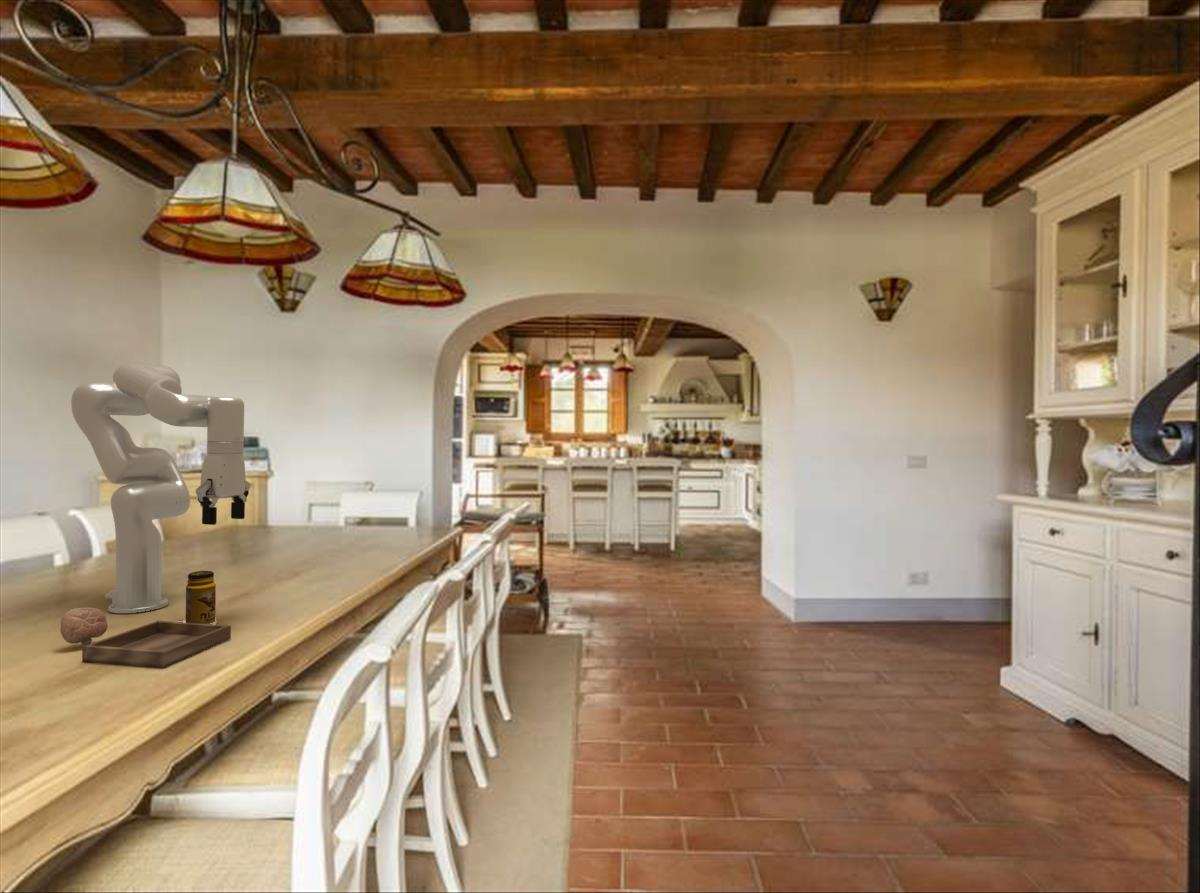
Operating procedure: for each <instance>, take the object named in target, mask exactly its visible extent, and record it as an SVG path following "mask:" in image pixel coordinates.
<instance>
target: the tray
mask: <svg viewBox="0 0 1200 893" xmlns="http://www.w3.org/2000/svg"><path fill="white" fill-rule="evenodd" d="M231 630H232V626H231V625H226V624H225V625H224V624H217V625H213V624H198V623H183V622H175V621H169V620H165V621H164V620H156V621H153V622H150V623H147V624H144V625H141V626H138V627H136V628H132V629H130V630H126V631H123V632H121V633H118V634H114V635H112V636H109V637H105V638H103V639H100V640H98V641H94V642H91V643H90V644H88V645H85V646H84V645H82V647H81V649H82V650H81V651H82V653H81V654H82V655H81V657H82V659H81V660H82V661H81V662H82V663H92V664H93V663H94V664H104V665H105V664H107V665H116V666H117V665H119V666H129V665H130V666H129V667H132V666H133V667H142V668H145V667H146V668H154V669H155V668H157V669H158V668H159V669H166V668H168V667H171V666H172V664H173V665H175V664H177V663H180V662H182V661H184V660H187V659H188V657H189V658H192V657H194V656H196V655H199V654H200V653H202V651H203V652H205V651H207V650H210V649H211V647H212V648H213V646H214V647H217V646H218V645H217V644H219V645H221V644H223V643H225V641H226V642H228V641H230V640H231V638H232V631H231ZM229 639H230V640H229ZM227 640H228V641H227ZM222 642H223V643H222ZM220 643H221V644H220ZM216 645H217V646H216ZM209 648H210V649H209ZM204 650H205V651H204ZM195 654H196V655H195ZM193 655H194V656H193ZM186 658H187V659H186ZM181 660H182V661H181ZM179 661H180V662H179ZM170 665H171V666H170Z"/></svg>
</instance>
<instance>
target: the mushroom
mask: <svg viewBox="0 0 1200 893" xmlns="http://www.w3.org/2000/svg"><path fill="white" fill-rule="evenodd" d="M106 618H107V617H106V615H105V613H104V612H103V611H102V610H101V609H99V608H97V607H87V606H86V607H76V608H72V609H70V610H68V611H67V612H65V613H64V614H63V616H62V617H61V620H60V629H59V631H60V634H61V636H62V638H63V640H64V641H65V642H67V643H69V644H70V645H71V644H79V643H81V645H82V646H85V645H88V644H91V643H93V638H94V639H95V638H100V637H102V636H103V635H105V633H106V632H107V630H108V620H107V619H106Z"/></svg>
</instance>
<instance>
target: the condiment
mask: <svg viewBox="0 0 1200 893" xmlns="http://www.w3.org/2000/svg"><path fill="white" fill-rule="evenodd" d="M214 573H215V572H214V571H211V570H199V571H198V570H197V571H192V572H190V573H188V575H187V584H186V586H185V620H186V623H198V624H210V623H213V622H215V617H216V618H217V616H216V609H217V608H216V607H217V606H216V597H217V596H216V594H217V593H216V590H217V589H216V588H217V587H216V586H217V585H216V582H214V581H215V578H214V575H215V574H214ZM181 620H182V619H181ZM181 620H180V619H179V620H177V621H181ZM183 620H184V619H183ZM183 620H182V621H183Z"/></svg>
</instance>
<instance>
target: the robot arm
mask: <svg viewBox="0 0 1200 893" xmlns="http://www.w3.org/2000/svg"><path fill="white" fill-rule="evenodd" d="M179 375H180V374H178V372H176V370H175V369H173V368H171V367H170V366H167V365H160V364H159V365H157V364H152V363H151V364H150V363H149V364H148V363H140V362H129V363H128V362H127V363H125V364H121V365H120V366H118V367H117V368H116V369H115V370H114V372H113V373H112V380H113V382H109V381H93V382H92V381H91V382H90V381H89V382H86V383H82V384H80V385H79V386H77V387H76V388H75V389H74V391H73V392H72V395H71V399H70V400H71V401H70V402H71V403H70V404H71V405H70V406H71V412H72V416H73V419H74V421H75V423H76V425H77V426H78V427H79V429H80V430H81V432H82V433H83V435H84V437H86V438H87V440H88V442H89V444H90V445H91V447H92V451H93V453H94V455H95V456H96V459H97V461H98V463H99V466H100V468H101V470H102V473H103V474H104V476H105V478H106V479H107V481H109V483H111V484H114V485H120V487H118V488H116V489H115V490H114V492H113V493H112V495H111V498H110V508H111V509H110V510H111V513H112V517H113V522H114V531H115V532H114V533H115V589H114V588H113V589H110V590H108V591H107V592H106V593H105V594H104V599H107V600H108V599H109V600H110V599H111V603H110V604H109V605H108V606H107V611H108V612H109V613H111V614H112V613H113V614H136V613H137V612H138V613H145V611H146V612H149V611H150V610H151V611H155V609H156V610H158V609H162V608H165V607H167V606H168V605H169V598H167V597H162V536H161V532H160V531H159V528H157V526H156V525H155V524H154V522H153V520H158V519H167V518H175V517H179V516H182V515H184V514H186V513H187V511H189V508H190V506H191V495H190V491H189V488H188V486H187V483H186V482H185V480H184V478H183V476H182V474H181V472H180V469H179V467H178V465H177V463H176V461H175V459H174V458H173V456H172V455H171V453H169V452H168V451H167V450H165V449H163V448H159V447H142V446H141V447H139V446H137V445H136V444H135V443H134V441H133V439H132V437H131V434H130V432H129V431H128V430H127V429H126V428H125V426H123V424H121V423H120V422H119V421H117V420H116V419H114V418H113V417H111V416H127V417H128V416H131V417H132V416H133V417H135V416H136V417H139V416H146V415H148V414H149V415H150V416H151V417H153V418H154V419H156V420H158V421H160V422H163V423H164V424H167V425H169V426H174V427H185V428H186V427H191V428H192V427H195V428H206V429H207V430H206V455H204V459H203V463H202V466H201V475H200V484H199V486H198V487H197V488H196V489H195V494H196V496H197V501H198V503H199V505H200V507H201V511H202V512H201V524H202V525H210V526H215V525H217V517H218V516H217V510H218V508H217V507H216V504H217V503H218V500H219V499H225V498H226V499H227V498H231V500H233V501H231V504H230V518H231V519H232V520H233V519H234V520H244V519H245V515H246V514H245V511H246V508H245V507H246V503H247V501H248V500H247V497H248V496H249V492H250V489H251V487H252V485H251V482H249V481H247V480H246V464H245V457H244V442H245V441H244V439H245V437H244V436H245V402H244V400H242V399H241V398H238V397H227V396H226V397H225V396H214V395H213V396H211V395H200V394H199V395H198V394H197V395H196V394H182V393H183V392H182V386H181V382H182V381H181V378H180V376H179ZM121 485H122V486H121ZM210 499H211V500H210ZM151 611H150V612H151Z"/></svg>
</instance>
